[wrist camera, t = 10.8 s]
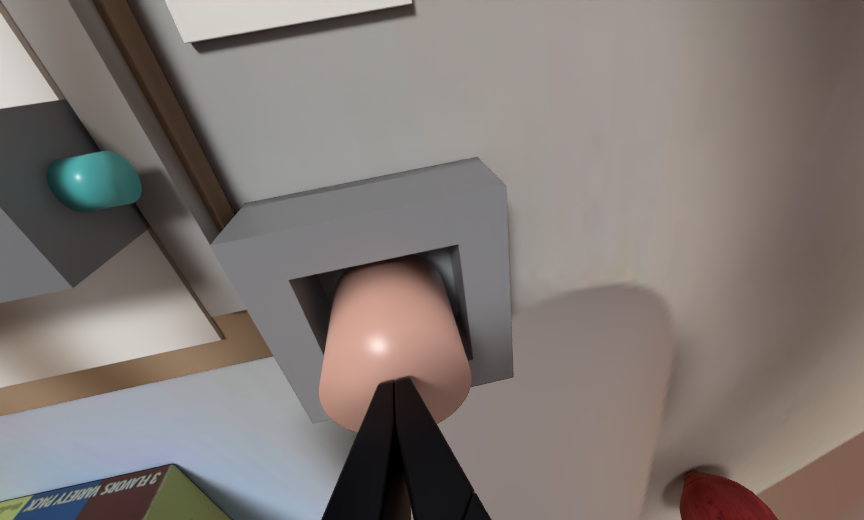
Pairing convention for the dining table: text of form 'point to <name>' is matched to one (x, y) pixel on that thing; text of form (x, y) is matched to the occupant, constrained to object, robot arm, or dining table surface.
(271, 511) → the dining table surface
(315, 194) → the button housing
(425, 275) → the button
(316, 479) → the dining table surface
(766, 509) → the onion
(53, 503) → the protein box
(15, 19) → the clipboard
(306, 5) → the card
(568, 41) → the dining table surface
